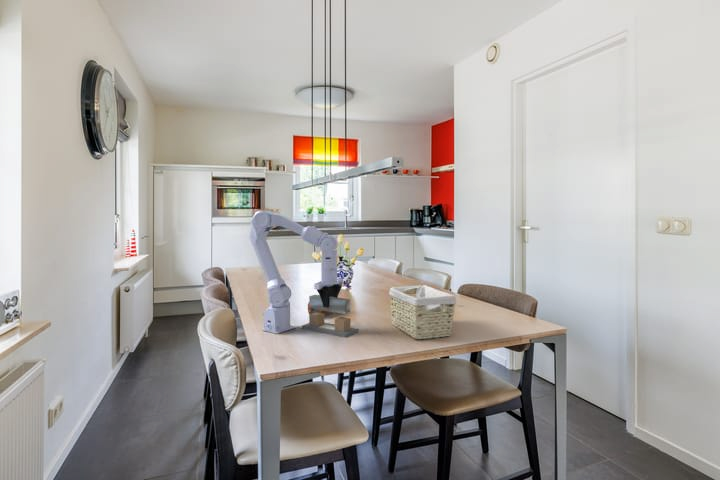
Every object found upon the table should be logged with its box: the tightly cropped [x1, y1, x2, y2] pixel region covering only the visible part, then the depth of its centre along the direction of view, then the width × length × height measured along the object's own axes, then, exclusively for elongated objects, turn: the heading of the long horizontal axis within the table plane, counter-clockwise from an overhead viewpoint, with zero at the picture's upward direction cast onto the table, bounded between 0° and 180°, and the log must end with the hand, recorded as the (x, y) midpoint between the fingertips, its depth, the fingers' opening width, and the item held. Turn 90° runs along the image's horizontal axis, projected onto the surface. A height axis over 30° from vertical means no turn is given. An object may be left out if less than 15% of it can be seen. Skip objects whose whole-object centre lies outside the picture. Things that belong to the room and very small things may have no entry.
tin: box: [307, 302, 333, 317], centre depth 166 cm, size 15×3×8 cm, turn 143°
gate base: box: [301, 312, 359, 338], centre depth 145 cm, size 8×20×5 cm, turn 56°
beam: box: [308, 294, 351, 315], centre depth 145 cm, size 4×16×4 cm, turn 57°
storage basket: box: [388, 284, 457, 340], centre depth 145 cm, size 24×16×15 cm
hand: (329, 306), depth 145 cm, fingers closed on beam, 3 cm apart
